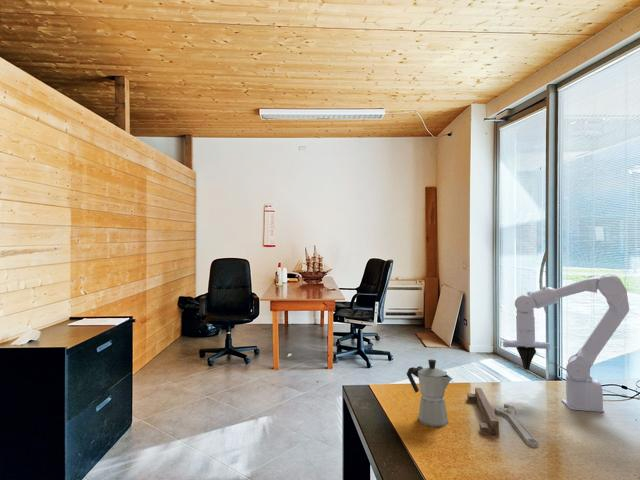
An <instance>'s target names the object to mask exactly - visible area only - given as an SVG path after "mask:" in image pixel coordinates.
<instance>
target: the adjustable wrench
mask: <svg viewBox="0 0 640 480" xmlns="http://www.w3.org/2000/svg"><path fill="white" fill-rule="evenodd" d="M505 408H506V409H505ZM494 413H495V415H499V416H501V415H502V417H504V418H505V419H507V420H508V421H509V423H510V424H511V425H512V427H513V428H514V429H515V430H516V432H517V433H518V434H519V436H520V437H521V438H522V440H523V441H524V442H525V444H527V446H529V447H532V448H538V447H539V440H538V439H536V437H535V436H534V435H533V434H532V433H531V432H530V430H528V428H527V427H526V426H525V425H524V424H523V423H522V422H521V420H520V419H519V418H518V417H517V416H516V414H517V409H516V407H515V406H514V405H511V404H507V403H504V404H503V408H502V407H501V406H499V405H498V404H495V405H494Z"/></svg>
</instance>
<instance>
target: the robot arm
mask: <svg viewBox="0 0 640 480" xmlns="http://www.w3.org/2000/svg"><path fill="white" fill-rule="evenodd" d="M598 291H599V292H600V294H602V296H603V297H604V298H605V301H606V302H607V305H608V308H607V310H606V311H605V313H604V314H603V316H602V317H601V319H600V320H599V321H598V323H597V325H596V326H595V327H594V329H593V330H592V332H591V333H590V335H589V336H588V337H587V339H586V341H585V342H584V344H583V345H582V347H581V348H580V349H578V352H576V353H575V354H573V355H571V356H570V357H569V358H568V360H567V364H566V367H565V370H566V374H565V398H561V401H562V402H563V403H564V405H566V406H567V407H568V408H569V409H570V410H572V411H573V410H574V411H587V412H597V413H600V412H601V413H602V412H603V413H604V412H605V410H604V394H603V393H604V392H603V388H602V383H601V382H600V380H598V379H594V378H593V377H592V376H591V369H592V367H593V365H594V363H595V362H596V359H597V357H598V356H599V355H600V354H601V352H602V350H603V349H604V347H605V346H606V344H607V343H608V342H609V340H610V339H611V337H612V336H613V335H614V333H615V332H616V331H617V329H618V327H619V326H620V325H621V324H622V321H624V319H625V317H626V316H627V315H628V313H629V311H630V305H629V304H630V303H629V297H628V291H627V288H626V287H625V285H624V283H623V282H622V279H620V277H618V276H617V275H615V274H604V275H602V276H601V277H600V275H599V276H593V277H589V278H585V279H582V280H579V281H575V282H572V283H570V284H567V285H564V286H562V287H561V286H560V287H558V288H554V287H551V286H548V287H547V286H542V287H541V288H540V289H538V290H535V291H532V292H531V291H528V292H526V294H522V295H520V296H519V297H516V299H515V300H514V307H515V309H516V311H515V312H516V316H515V317H516V318H515V321H516V322H515V327H516V340H502V347H503V348H506V349H507V348H515V349H516V350H517V352H518V354H519V357H520V359H521V363H522V368H523V369H524V370H526V371H527V370H528V371H529V370H530V369H531V368H530V367H531V364H532V361H533V359H534V356H535V355H536V353H537V350H536V349H540V350H542V349H544V350H551V347H550V345H551V343H549V342H544V341H542V342H541V341H536V330H535V329H536V327H535V326H536V321H535V312H534V311H535V310H534V309H542V308H545V307H548V306H552V305H555V304H558V302H559V301H560V299H561V298H564V297H568V296H572V295H577V294H580V293H583V292H590V293H597V292H598Z"/></svg>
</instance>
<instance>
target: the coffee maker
mask: <svg viewBox="0 0 640 480" xmlns="http://www.w3.org/2000/svg"><path fill="white" fill-rule="evenodd" d="M427 362H428V366H429V367H423V366H421V365H419V366H417V367H412V366H411V367H409V368H408V370H407V372H406V376H407V379H408V380H409V382H410V384H411V387H412V388H413V391H414V393H416V394H417V393H418V392H419V391H420V395H422V396H420V403H419V409H418V414H417V415H418V417H417V419H418V420H419V422H420V424H421V425H425V426H428V427H431V428H441V427H443V428H444V427H445V426H446V425H447V424H448V423H449V419H448V414H447V408H446V407H447V406H446V401H445V399H444V397H445V393H446V388H447V387H448V385H449V384H450V382H451V381H452V380H453V377H451V376H449V375H448V373H447V371H446V370H443V369H440V368H437V367H436V363H437V360H436V359H428V360H427ZM413 376H415V377H417V378H418V384H419V387H418V385H417V383H416V381H415V378H414V377H413Z"/></svg>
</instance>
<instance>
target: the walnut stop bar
mask: <svg viewBox="0 0 640 480" xmlns="http://www.w3.org/2000/svg"><path fill="white" fill-rule="evenodd" d="M466 398H467V399H466V400H467V401H468V404H469V403H471V404H476V405H477V407H478V410H479V411H480V413H481V416H482V418H483V420H484V422H479V431H480V433H481V435H483V436H492V437H493V436H494V437H500V421H499V419H498V417H497V414H496V412H495V410H494V409H493V407H492V406H491V403H490V402H489V400H488V397H487V396H486V394H485V393H484V391H483V388H482V387H474V393H469V392H468V393H467V397H466Z"/></svg>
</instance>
